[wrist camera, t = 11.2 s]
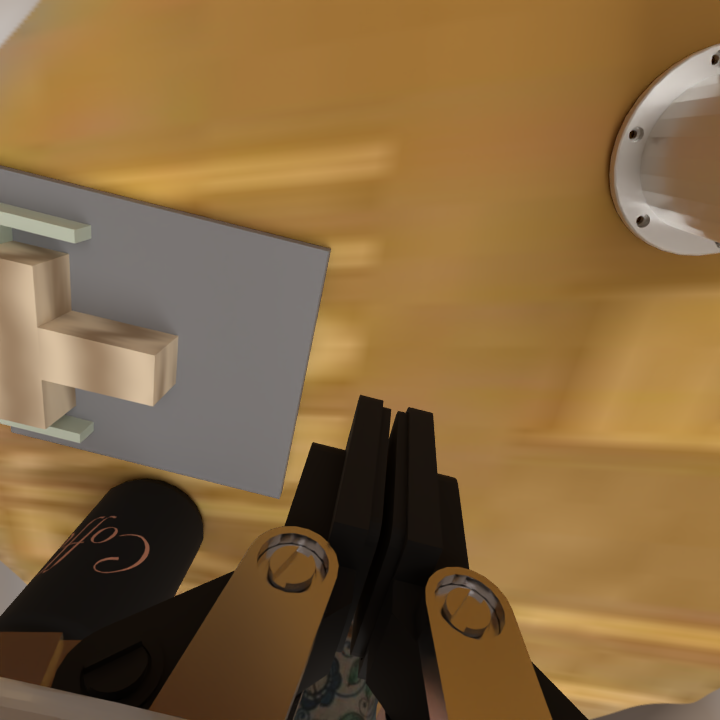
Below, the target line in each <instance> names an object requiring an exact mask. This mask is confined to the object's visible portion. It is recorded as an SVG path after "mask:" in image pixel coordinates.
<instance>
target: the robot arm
mask: <svg viewBox="0 0 720 720" xmlns="http://www.w3.org/2000/svg"><path fill="white" fill-rule="evenodd" d="M712 56H713V57H714V58H715V62H714V64H713V65H712V62H711V60H712ZM632 130H633V131H634V137H633V138H631V139H630V138H629V133H630V131H632ZM609 179H610V189H611V196H612V199H613V202H614V205H615V208H616V211H617V213H618V214H619V216H620V218H621V219H622V221H623V223H624V224H625V225H626V227H627V228H628V229H629V230H630V231H631V232H632V233H633V234H634V235H635V236H636V237H638V238H639V239H641V240H642V241H644V242H646V243H647V244H649V245H651V246H653V247H656V248H658V249H660V250H662V251H666V252H670V253H674V254H678V255H690V256H701V255H709V254H717V253H720V43H719V44H716V45H713V46H710V47H708V48H705V49H702V50H700V51H697V52H695V53H693V54H691V55H689V56H688V57H686V58H684V59H682V60H681V61H679V62H677V63H676V64H674V65H672V66H671V67H670V68H669V69H668V70H666V71H665V72H664V73H663V74H661V75H660V76H659V77H658V78H656V79H655V80H654V81H653V82H652V83H651V85H650V86H649V87H648V88H647V89H646V90H645V91H644V92H643V93H642V94H641V96H640V97H639V98H638V99H637V101H636V102H635V104H634V105H633V107H632V108H631V110H630V111H629V113H628V114H627V116H626V117H625V120H624V122H623V124H622V126H621V128H620V130H619V133H618V135H617V137H616V141H615V144H614V148H613V151H612V155H611V162H610V173H609ZM639 216H641V220H640V221H639V222H638V223H636V220H637V218H638V217H639ZM390 418H391V409H388V408H384V407H383V401H382V400H378V399H375V398H371V397H367V396H363V395H360V397H359V400H358V404H357V408H356V411H355V415H354V419H353V423H352V427H351V430H350V434H349V438H348V442H347V446H346V450H342V449H338V448H334V447H330V446H326V445H322V444H318V443H314V442H313V443H312V446H311V448H310V451H309V454H308V457H307V460H306V463H305V466H304V469H303V472H302V475H301V478H300V481H299V484H298V487H297V490H296V493H295V496H294V499H293V502H292V505H291V508H290V511H289V514H288V517H287V520H286V523H285V526H282V527H278V528H274V529H270V530H269V531H267V532H265V533H263V534H262V535H260V536H259V537H258V538H257V539H256V540H255V541H254V542H253V543H252V545H251V546H250V548H249V549H248V551H247V552H246V554H245V556H244V557H243V559H242V561H241V562H240V564H239V565H238V567H237V569H236V570H235V571H233V572H230V573H228V574H226V575H223V576H221V577H219V578H216V579H214V580H212V581H210V582H207V583H205V584H203V585H200V586H198V587H196V588H193V589H191V590H189V591H186V592H184V593H182V594H179V595H177V596H175V597H173V598H170V599H168V600H166V601H163V602H161V603H159V604H156V605H154V606H152V607H149V608H147V609H145V610H142V611H140V612H138V613H136V614H133V615H131V616H129V617H126V618H124V619H122V620H119V621H117V622H115V623H112V624H110V625H108V626H105V627H103V628H101V629H99V630H97V631H96V632H94V633H92V634H90V635H89V636H87V637H85V638H84V639H82V640H63V632H0V720H294V718H295V715H296V712H297V709H298V706H299V704H300V701H301V698H302V694H303V691H304V690H305V689H307V688H308V687H310V686H311V685H313V684H314V683H316V682H317V681H319V680H320V679H322V678H323V677H325V676H326V675H328V674H329V672H330V669H331V666H332V663H333V660H334V656H335V653H336V652H339V653H341V652H342V650H343V647H344V644H345V641H346V638H347V635H348V632H349V629H350V626H351V623H352V620H353V617H354V621H353V629H352V637H351V645H350V655H351V656H355V657H359V668H358V677H357V678H360V679H364V680H366V682H365V683H366V684H367V686H368V687H369V689H370V690H371V691H372V693H373V694H374V696H375V697H376V699H377V700H378V704H377V710H376V720H588V719H587V718H586V717H585V716H584V715H583V714H582V713H581V712H580V711H579V710H578V709H577V708H576V707H575V706H574V704H573V703H572V702H571V701H570V700H569V699H568V698H567V697H566V696H565V695H564V694H563V693H562V692H561V691H560V690H559V689H558V688H557V687H556V686H555V685H554V684H553V683H552V682H551V681H550V680H549V679H548V678H547V677H546V676H545V675H544V674H543V673H542V672H541V671H540V670H539V669H538V668H537V667H536V666H535V665H534V664H533V663H532V662H531V660H530V657H529V654H528V651H527V649H526V646H525V643H524V640H523V638H522V635H521V632H520V629H519V627H518V624H517V621H516V618H515V616H514V613H513V610H512V608H511V606H510V604H509V602H508V600H507V598H506V597H505V596H504V594H503V593H502V592H501V591H500V590H499V588H498V587H497V586H496V585H494V584H493V583H492V582H491V581H489V580H488V579H487V578H486V577H484V576H482V575H480V574H478V573H476V572H474V571H472V570H469V564H468V557H467V549H466V541H465V534H464V526H463V519H462V511H461V503H460V496H459V488H458V483H457V480H456V479H455V478H453V477H449V476H446V475H442V474H438V473H437V462H436V448H435V435H434V421H433V413H430V412H426V411H422V410H418V409H414V408H410V407H408V409H407V411H406V413H404V412H400V411H398V412H397V414H396V417H395V421H394V424H393V427H392V430H391V434H390V437H389V430H390Z"/></svg>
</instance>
